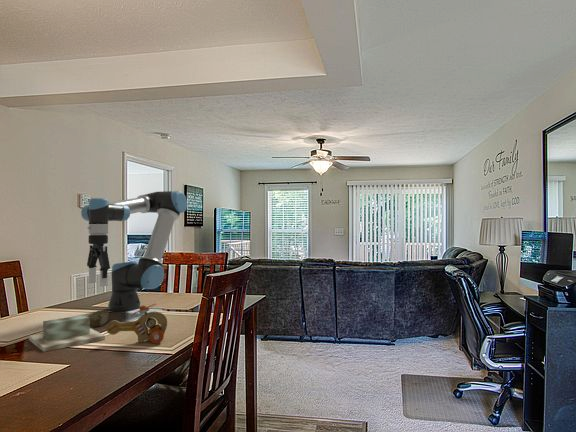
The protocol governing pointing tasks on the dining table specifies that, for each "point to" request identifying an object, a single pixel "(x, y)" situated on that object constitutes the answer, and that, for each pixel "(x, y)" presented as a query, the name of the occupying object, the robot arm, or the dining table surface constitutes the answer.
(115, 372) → the dining table surface
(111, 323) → the toy helicopter
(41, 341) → the tower base
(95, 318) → the stone block
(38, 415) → the dining table surface
